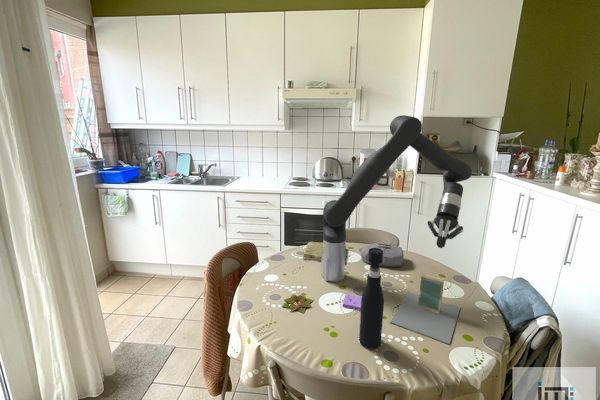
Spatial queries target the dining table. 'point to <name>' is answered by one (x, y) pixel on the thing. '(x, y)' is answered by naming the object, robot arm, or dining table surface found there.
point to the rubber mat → (426, 319)
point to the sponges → (352, 302)
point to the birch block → (431, 293)
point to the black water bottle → (372, 303)
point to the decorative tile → (314, 251)
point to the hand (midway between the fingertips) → (440, 247)
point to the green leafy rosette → (297, 299)
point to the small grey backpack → (385, 254)
